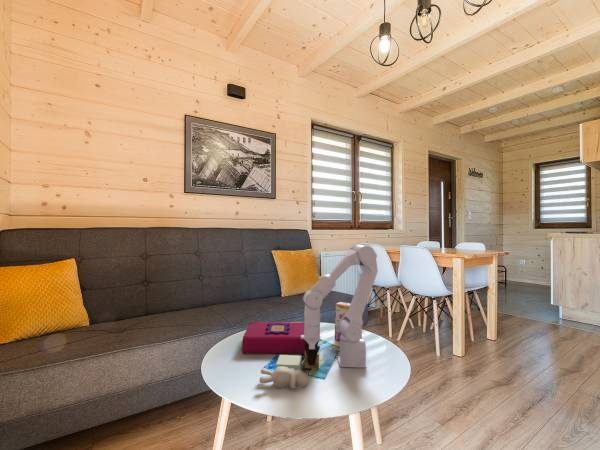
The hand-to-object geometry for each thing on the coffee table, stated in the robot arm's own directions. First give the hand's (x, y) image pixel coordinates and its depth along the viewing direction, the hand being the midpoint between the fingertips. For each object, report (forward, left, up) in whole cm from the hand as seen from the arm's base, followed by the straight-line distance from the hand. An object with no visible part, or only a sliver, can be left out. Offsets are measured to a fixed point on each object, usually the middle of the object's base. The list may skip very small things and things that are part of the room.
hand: (311, 361), depth 113 cm
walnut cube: (0, 0, -1) cm, 1 cm away
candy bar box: (-16, -25, -2) cm, 30 cm away
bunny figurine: (+9, +14, -2) cm, 17 cm away
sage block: (+8, +3, -2) cm, 9 cm away
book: (+14, -19, -2) cm, 24 cm away
